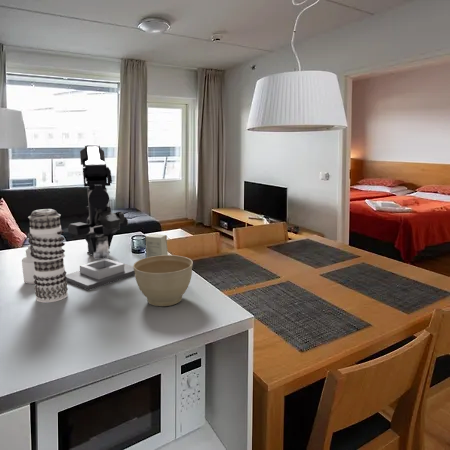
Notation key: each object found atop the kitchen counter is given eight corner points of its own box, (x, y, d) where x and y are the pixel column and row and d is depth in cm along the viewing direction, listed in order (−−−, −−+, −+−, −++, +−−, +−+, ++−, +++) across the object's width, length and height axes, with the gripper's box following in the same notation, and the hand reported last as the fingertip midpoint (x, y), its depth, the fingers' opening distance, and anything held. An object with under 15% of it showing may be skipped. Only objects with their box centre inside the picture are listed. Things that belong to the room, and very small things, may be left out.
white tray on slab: (114, 264, 136) (114, 254, 135) (140, 272, 128) (140, 261, 127) (62, 280, 121) (61, 268, 120) (88, 290, 112) (87, 277, 111)
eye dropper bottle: (29, 286, 115) (25, 248, 113) (22, 281, 119) (18, 245, 116) (44, 282, 118) (40, 245, 116) (37, 278, 122) (33, 242, 120)
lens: (103, 253, 126) (102, 233, 125) (112, 256, 123) (110, 235, 122) (90, 256, 122) (89, 235, 121) (99, 259, 120) (97, 238, 118)
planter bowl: (172, 285, 117) (171, 251, 115) (204, 301, 105) (204, 264, 103) (124, 298, 107) (122, 262, 104) (154, 318, 95) (152, 277, 92)
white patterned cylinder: (56, 288, 114) (48, 206, 109) (76, 294, 109) (69, 209, 104) (27, 298, 106) (17, 211, 101) (48, 305, 101) (39, 214, 96)
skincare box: (168, 268, 132) (167, 234, 130) (162, 272, 128) (161, 237, 126) (152, 266, 134) (151, 233, 132) (146, 270, 130) (144, 236, 128)
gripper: (86, 210, 107) (90, 262, 110) (137, 202, 122) (139, 248, 125) (65, 205, 114) (69, 255, 117) (116, 199, 128) (118, 243, 132)
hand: (101, 250), depth 122 cm, fingers closed on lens, 5 cm apart
